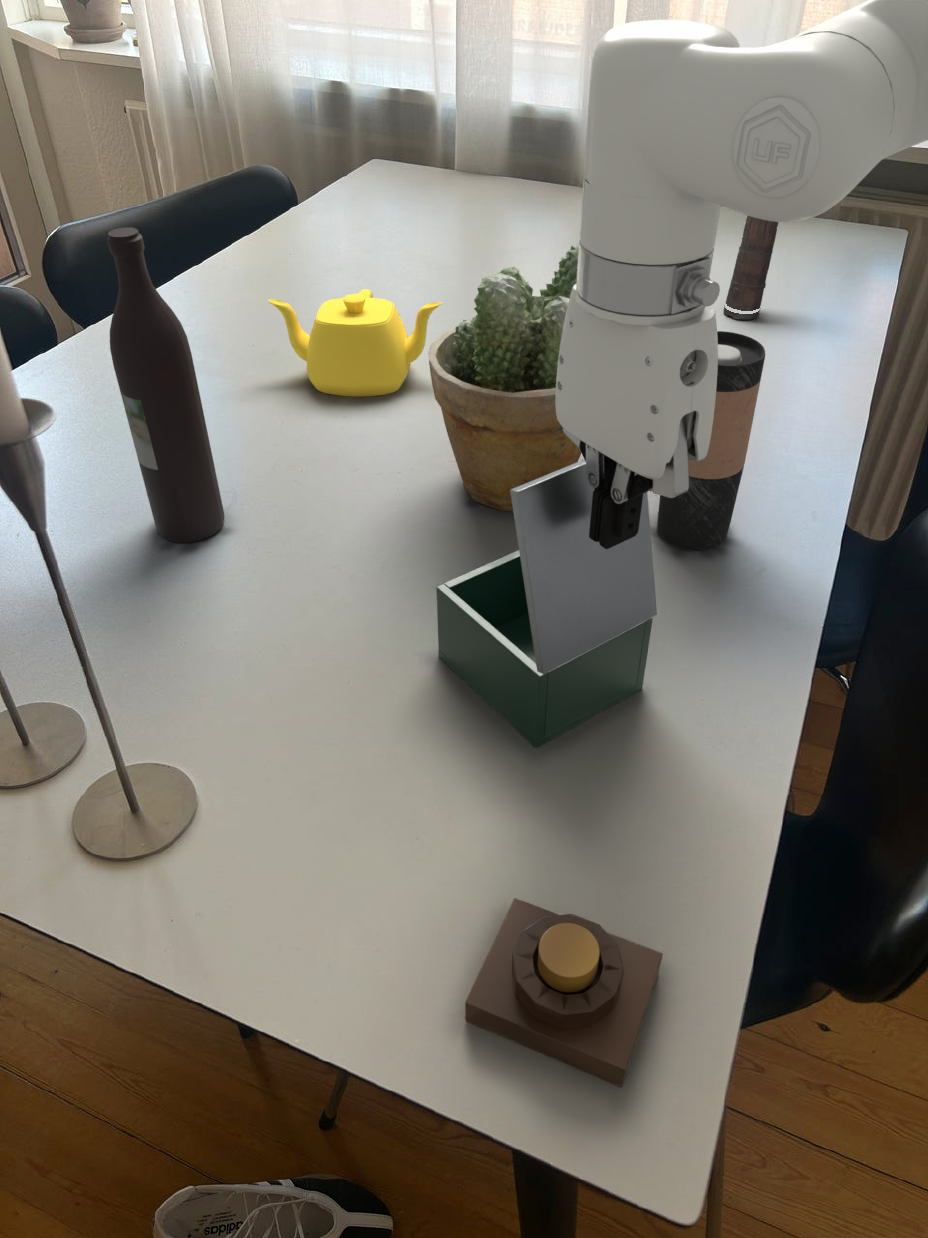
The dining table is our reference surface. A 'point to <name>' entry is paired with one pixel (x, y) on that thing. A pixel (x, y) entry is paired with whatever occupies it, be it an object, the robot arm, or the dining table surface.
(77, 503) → the dining table surface
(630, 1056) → the button block
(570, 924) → the button
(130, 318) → the wine bottle
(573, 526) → the tin lid
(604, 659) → the tin
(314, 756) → the dining table surface
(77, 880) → the dining table surface
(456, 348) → the potted plant
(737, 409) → the travel mug
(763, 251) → the butter churn
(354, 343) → the teapot
